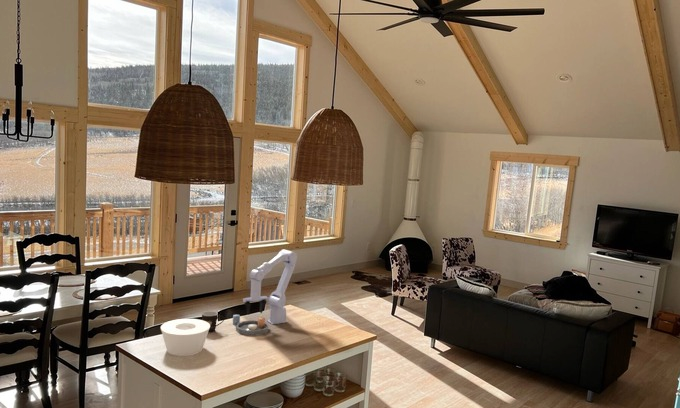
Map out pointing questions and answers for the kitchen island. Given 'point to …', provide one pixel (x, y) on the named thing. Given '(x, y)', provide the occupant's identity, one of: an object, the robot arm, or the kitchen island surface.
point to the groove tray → (251, 328)
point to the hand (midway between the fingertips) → (254, 313)
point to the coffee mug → (211, 319)
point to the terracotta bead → (261, 322)
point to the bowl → (185, 336)
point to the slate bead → (236, 319)
